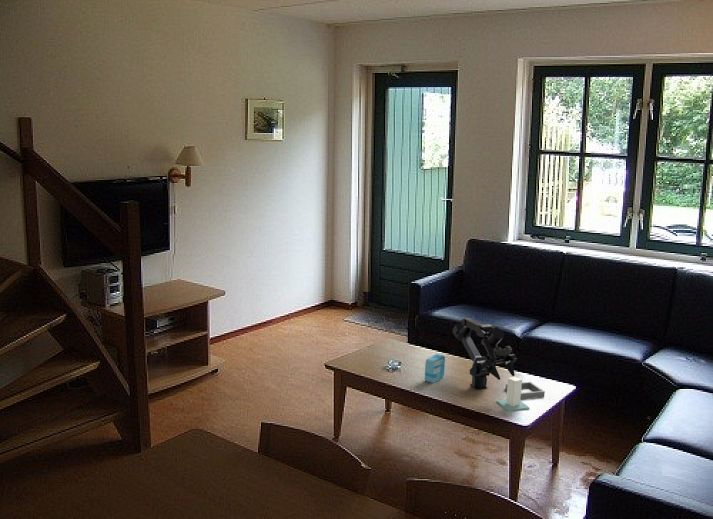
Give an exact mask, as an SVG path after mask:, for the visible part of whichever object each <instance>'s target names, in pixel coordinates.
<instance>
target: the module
mask: <svg viewBox="0 0 713 519" xmlns="http://www.w3.org/2000/svg"><path fill="white" fill-rule="evenodd" d="M522 383H523V379H522V378H519V377H517V376H512V377H508V378H507V384H508V385H507V390H506V399H505V400H506V403H507V404H509V405H511V406H517V405H520V401H521V399H520V398H521V393H522V388H521V386H522Z"/></svg>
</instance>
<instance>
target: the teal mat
mask: <svg viewBox="0 0 713 519" xmlns="http://www.w3.org/2000/svg"><path fill="white" fill-rule="evenodd" d="M496 403H497V404H499V406H501V407H502V408H503V409H504V410H506V411H507V412H515V411H525V410H530V406H528V405H527V404H526V403H525V402H523V401H521V400H520V405H517V406H511V405H509V404H507V403H506V399H497V400H496Z"/></svg>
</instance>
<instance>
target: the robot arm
mask: <svg viewBox="0 0 713 519" xmlns="http://www.w3.org/2000/svg"><path fill="white" fill-rule="evenodd" d="M471 331H474V332H476V335H477V336H478V337H479V338H481V342H480V346H482V345H483V346H484V348H485V350H486V352H487V353H486V356H481V354H480V352H479V349H478V348H477V346H476V345H475V343H474V340H473V339H472V338H471ZM452 334H453V335H454V337H455V338H456V340H459V341H460V342H462V344H463V346H464V348H465V350H466V352H467V354H468V355H469V357H470V359H471V361H472V364H471V365H472V366H471V368H470V369H469V375H470V376H471V383H470V384H469V385H470V386H471V387H473V388H474V389H475V390H482V389H483V390H484V389H488V387H487V385H488V384H487V382H488V378H487V376H488V377H489V376H490V374H491V375H492V376H493V377H495V378H496V379H497V380H498V381H500V380H501V376H500V374H499V371H498V369H497V364H504V367H505V369H506V370H507V371H508V373H509V374H510V375H511V376H512V377H516V375H515V368H514V367H515V366H514V365H515V362H516V360H517V359H518V357H517V355H516V354H514V353H512V352H513V349H512V347H511V345H507V346H505V347H504V348H502V347H501V346H499V345H498V344H499V343H500V342H501V341H502V340H503V339H504V338H505V333H504V332H503V330H502V329H500V328H499V327H498V326H493V325H492V324H487V323H481V322H479V321H476V320H474V319H473V318H471V317H468V318H467V317H465V318H462V319H461V321H459V322H457V323H456V324H455V325H454V327H452ZM511 353H512V354H511ZM488 356H489V358H488Z"/></svg>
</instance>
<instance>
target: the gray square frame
mask: <svg viewBox="0 0 713 519" xmlns="http://www.w3.org/2000/svg"><path fill="white" fill-rule="evenodd" d="M507 385H508V383H505V390H506V391H507ZM526 388H529V389H531V390H532V391H527V392H521V398H520V400H523V399H531V398H533V399H534V398H541V397H542V398H544V397H545V393H546V392H545V390H543V389H542V388H540V387H539V386H537V385H536V384H534V383H533V382H532V381H526V382H525V381H522V386H521V389H526Z"/></svg>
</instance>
